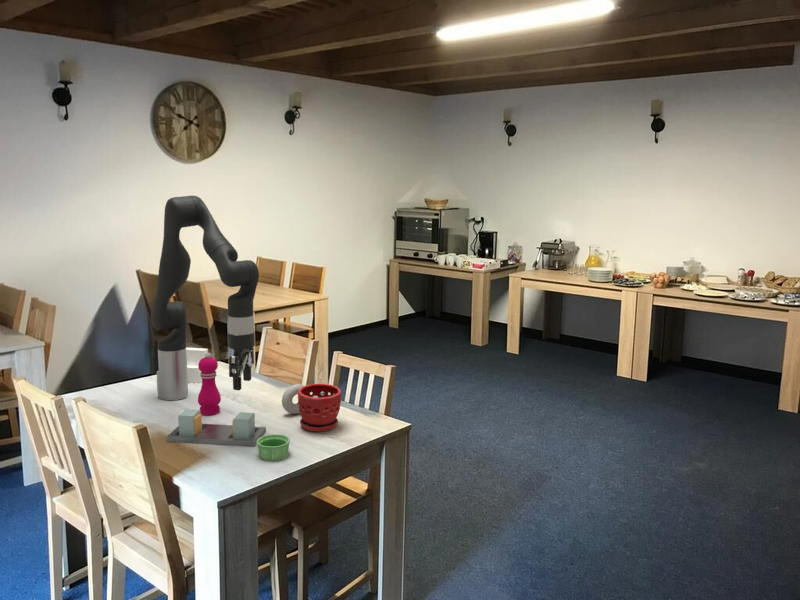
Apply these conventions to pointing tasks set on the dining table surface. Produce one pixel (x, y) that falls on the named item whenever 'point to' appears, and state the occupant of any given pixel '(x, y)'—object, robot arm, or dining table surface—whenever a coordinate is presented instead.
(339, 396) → the plant pot
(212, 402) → the pepper mill
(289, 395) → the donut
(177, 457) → the dining table surface
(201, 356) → the base with upright slab
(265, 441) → the ramekin
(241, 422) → the grey-green block
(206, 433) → the grey rectangular tray
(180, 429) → the sage green block
